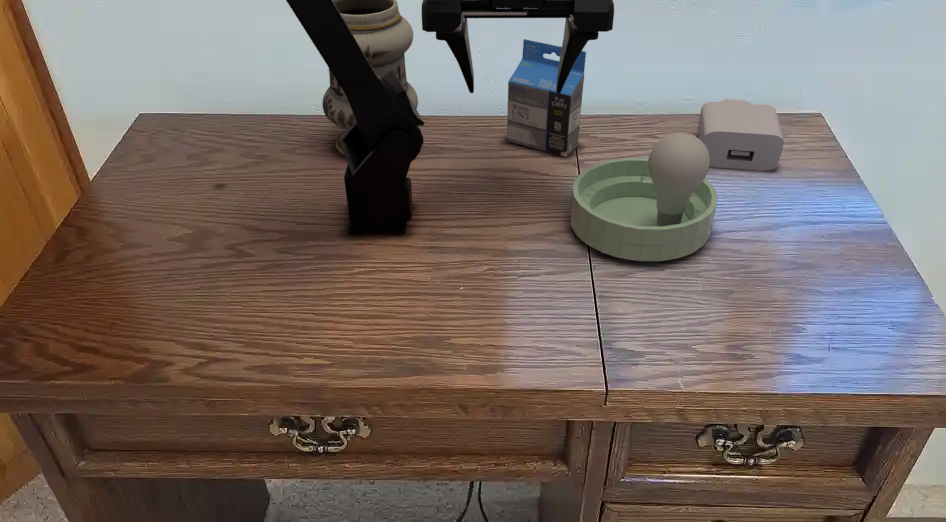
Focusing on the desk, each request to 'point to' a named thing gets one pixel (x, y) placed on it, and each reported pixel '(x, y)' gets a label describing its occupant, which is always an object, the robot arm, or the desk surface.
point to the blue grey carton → (544, 101)
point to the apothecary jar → (371, 52)
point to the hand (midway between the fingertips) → (515, 91)
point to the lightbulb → (677, 174)
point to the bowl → (636, 213)
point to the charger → (741, 135)
